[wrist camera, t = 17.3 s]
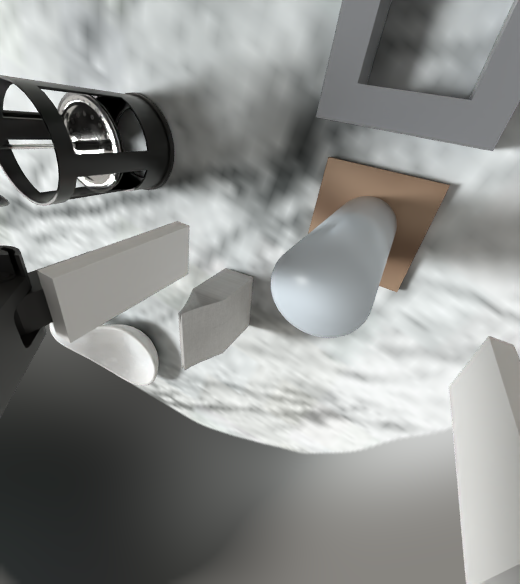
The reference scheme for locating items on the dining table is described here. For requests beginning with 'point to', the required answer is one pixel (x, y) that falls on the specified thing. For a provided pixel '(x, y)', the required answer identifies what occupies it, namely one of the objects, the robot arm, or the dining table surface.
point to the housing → (414, 105)
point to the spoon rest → (118, 351)
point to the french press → (84, 141)
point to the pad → (396, 193)
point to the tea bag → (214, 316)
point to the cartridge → (336, 269)
